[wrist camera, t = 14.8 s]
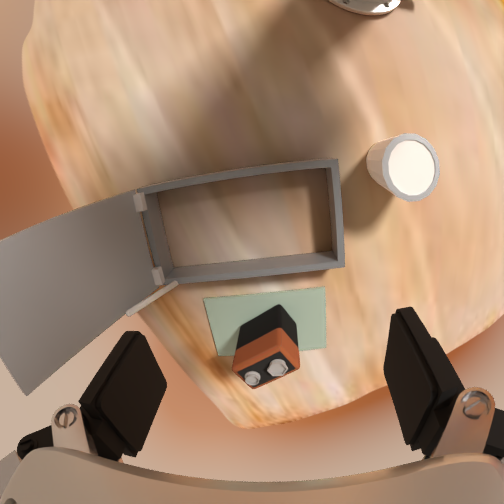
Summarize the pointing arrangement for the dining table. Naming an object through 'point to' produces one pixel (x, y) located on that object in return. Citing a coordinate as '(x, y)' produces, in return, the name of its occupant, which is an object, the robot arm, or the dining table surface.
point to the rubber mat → (252, 305)
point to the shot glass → (404, 166)
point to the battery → (267, 348)
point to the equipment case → (173, 276)
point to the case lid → (69, 284)
